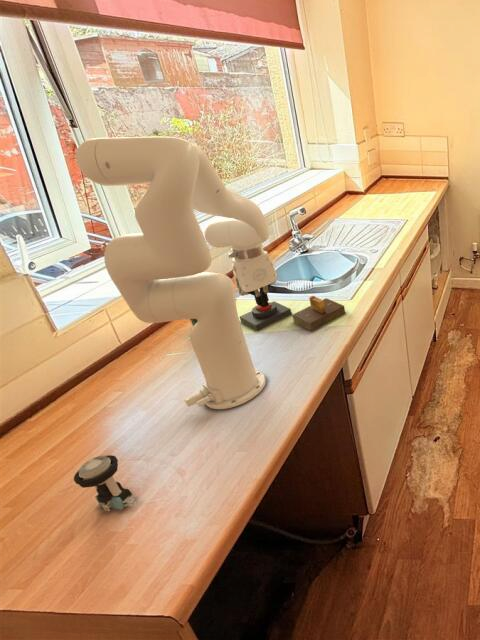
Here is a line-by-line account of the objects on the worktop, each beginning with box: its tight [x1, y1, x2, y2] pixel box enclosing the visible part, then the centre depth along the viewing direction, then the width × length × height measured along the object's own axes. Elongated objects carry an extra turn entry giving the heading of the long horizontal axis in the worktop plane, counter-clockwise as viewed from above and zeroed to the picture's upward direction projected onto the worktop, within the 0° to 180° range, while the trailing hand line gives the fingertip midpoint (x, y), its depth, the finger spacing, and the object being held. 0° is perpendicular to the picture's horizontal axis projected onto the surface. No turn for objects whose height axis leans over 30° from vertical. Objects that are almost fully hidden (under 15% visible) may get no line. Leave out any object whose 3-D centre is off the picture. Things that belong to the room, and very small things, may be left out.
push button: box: [73, 454, 138, 512], centre depth 69 cm, size 7×5×10 cm
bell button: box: [256, 302, 271, 311], centre depth 125 cm, size 4×4×2 cm
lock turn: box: [309, 295, 325, 313], centre depth 125 cm, size 5×1×4 cm, turn 59°
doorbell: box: [239, 301, 293, 332], centre depth 125 cm, size 11×9×4 cm
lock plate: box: [292, 298, 346, 332], centre depth 126 cm, size 12×9×3 cm
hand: (263, 304), depth 125 cm, fingers closed
